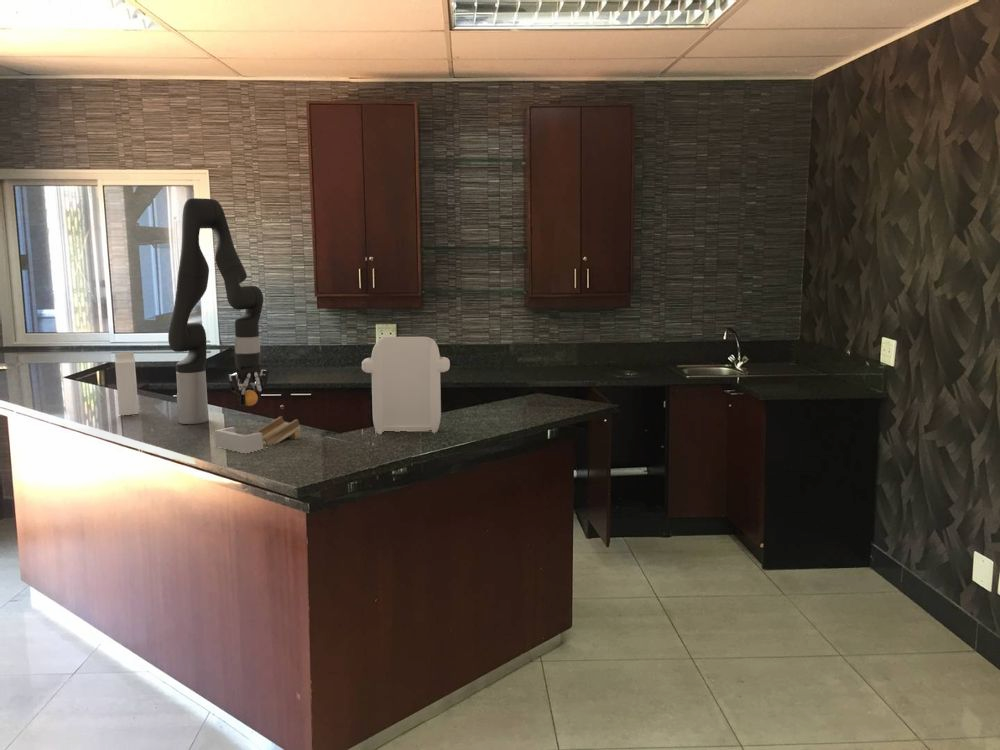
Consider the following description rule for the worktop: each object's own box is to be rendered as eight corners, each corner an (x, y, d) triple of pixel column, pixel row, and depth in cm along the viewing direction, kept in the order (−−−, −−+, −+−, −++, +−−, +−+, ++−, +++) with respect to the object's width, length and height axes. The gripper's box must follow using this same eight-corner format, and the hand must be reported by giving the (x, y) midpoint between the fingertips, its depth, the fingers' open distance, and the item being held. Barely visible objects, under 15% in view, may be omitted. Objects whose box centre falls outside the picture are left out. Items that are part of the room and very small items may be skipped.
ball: (238, 405, 259) (237, 390, 258) (251, 403, 263) (250, 388, 262) (248, 408, 256) (247, 392, 256) (261, 405, 260) (260, 389, 259)
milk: (137, 415, 290) (133, 353, 287) (118, 416, 288) (114, 353, 285) (138, 412, 296) (134, 350, 292) (120, 413, 294) (115, 351, 290)
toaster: (451, 426, 271) (449, 334, 266) (450, 434, 259) (448, 338, 255) (367, 427, 270) (364, 335, 265) (362, 435, 259) (359, 339, 254)
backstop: (215, 447, 244) (214, 430, 243) (233, 443, 248) (232, 426, 248) (245, 454, 235) (244, 436, 235) (262, 449, 240) (261, 432, 239)
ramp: (249, 445, 250) (248, 423, 249) (283, 437, 260) (282, 415, 259) (266, 449, 245) (265, 426, 244) (301, 440, 255) (300, 419, 254)
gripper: (259, 347, 265) (260, 399, 268) (220, 352, 253) (222, 406, 256) (274, 349, 260) (275, 402, 263) (235, 354, 249) (237, 409, 252)
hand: (249, 404), depth 260 cm, fingers closed on ball, 5 cm apart
